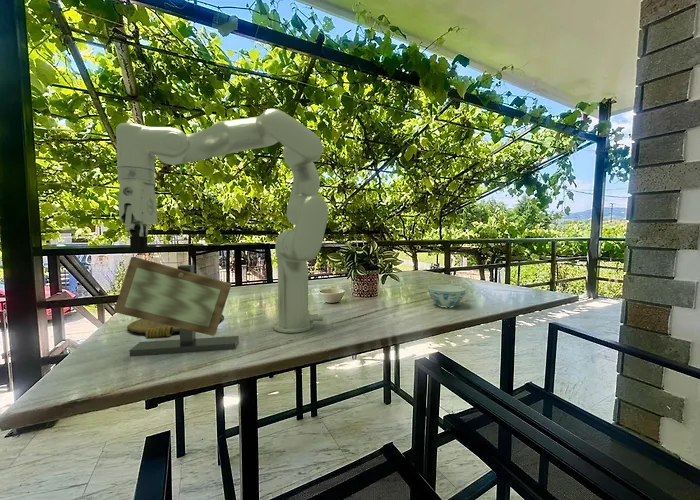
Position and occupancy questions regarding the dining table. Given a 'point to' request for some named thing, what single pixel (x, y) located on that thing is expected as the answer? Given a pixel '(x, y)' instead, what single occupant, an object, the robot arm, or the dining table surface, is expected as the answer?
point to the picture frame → (172, 296)
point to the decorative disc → (153, 328)
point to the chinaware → (446, 294)
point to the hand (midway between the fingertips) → (139, 252)
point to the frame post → (184, 340)
